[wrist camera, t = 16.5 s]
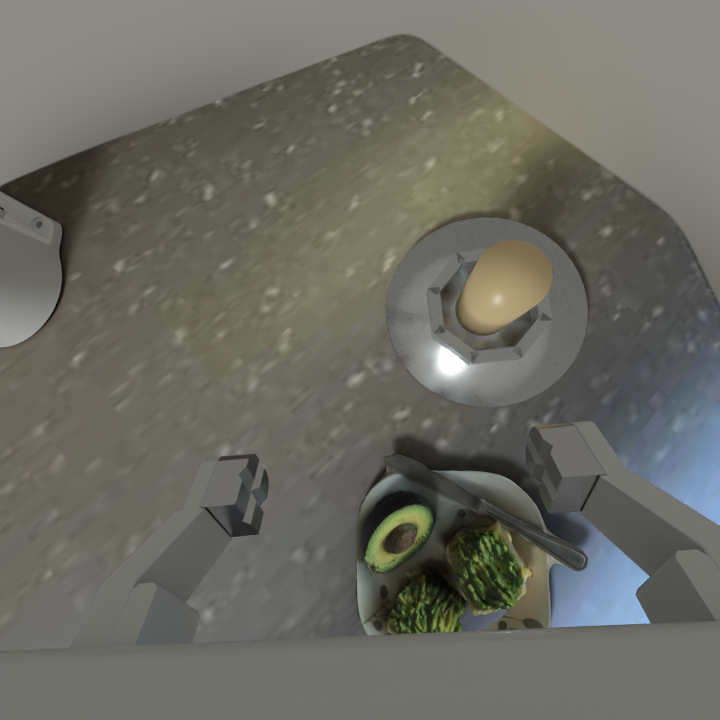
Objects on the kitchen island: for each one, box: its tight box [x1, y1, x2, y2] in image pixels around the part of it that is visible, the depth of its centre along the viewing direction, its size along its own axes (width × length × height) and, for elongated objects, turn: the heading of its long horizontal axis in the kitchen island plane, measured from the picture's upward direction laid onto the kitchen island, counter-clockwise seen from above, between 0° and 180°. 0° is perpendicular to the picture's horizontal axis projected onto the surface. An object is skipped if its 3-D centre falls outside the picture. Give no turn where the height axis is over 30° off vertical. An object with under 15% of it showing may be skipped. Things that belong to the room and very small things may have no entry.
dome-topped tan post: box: [455, 240, 552, 336], centre depth 28 cm, size 5×5×9 cm
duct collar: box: [386, 217, 588, 407], centre depth 31 cm, size 18×18×3 cm
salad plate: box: [356, 454, 588, 636], centre depth 29 cm, size 19×18×5 cm
